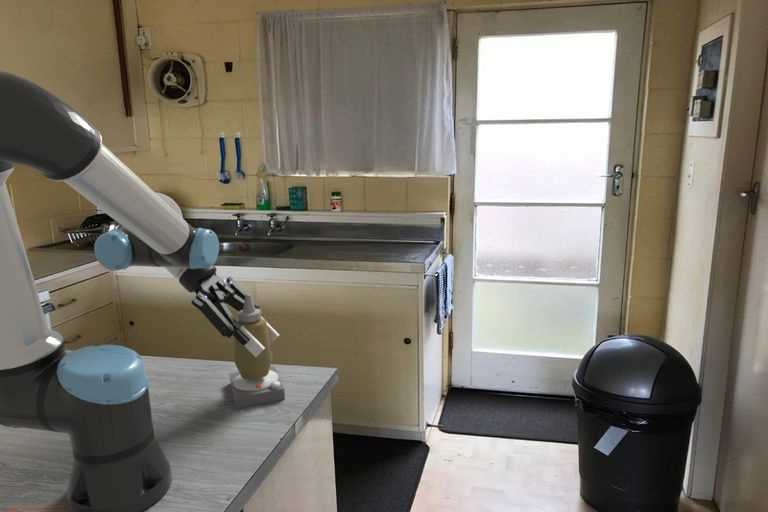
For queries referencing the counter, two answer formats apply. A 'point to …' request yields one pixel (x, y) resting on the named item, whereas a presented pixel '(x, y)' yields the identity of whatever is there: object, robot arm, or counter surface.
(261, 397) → the white dome on base
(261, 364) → the squeeze bottle
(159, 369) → the counter surface
